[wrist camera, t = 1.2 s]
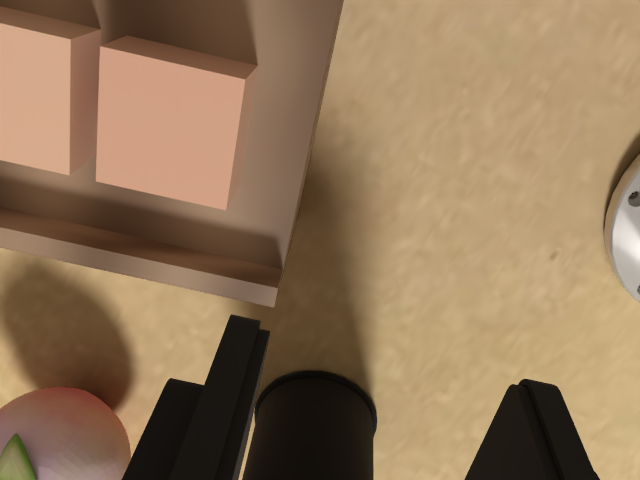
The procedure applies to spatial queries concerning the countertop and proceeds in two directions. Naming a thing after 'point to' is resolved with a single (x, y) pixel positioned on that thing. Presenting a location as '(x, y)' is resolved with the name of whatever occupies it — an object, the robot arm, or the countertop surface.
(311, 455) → the aerosol can
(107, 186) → the brown wooden box
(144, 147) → the tile
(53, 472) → the decorative fruit
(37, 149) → the tile
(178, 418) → the robot arm
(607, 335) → the countertop surface
